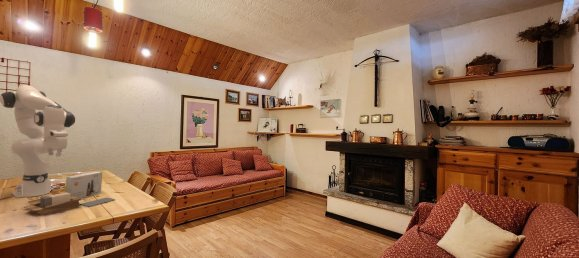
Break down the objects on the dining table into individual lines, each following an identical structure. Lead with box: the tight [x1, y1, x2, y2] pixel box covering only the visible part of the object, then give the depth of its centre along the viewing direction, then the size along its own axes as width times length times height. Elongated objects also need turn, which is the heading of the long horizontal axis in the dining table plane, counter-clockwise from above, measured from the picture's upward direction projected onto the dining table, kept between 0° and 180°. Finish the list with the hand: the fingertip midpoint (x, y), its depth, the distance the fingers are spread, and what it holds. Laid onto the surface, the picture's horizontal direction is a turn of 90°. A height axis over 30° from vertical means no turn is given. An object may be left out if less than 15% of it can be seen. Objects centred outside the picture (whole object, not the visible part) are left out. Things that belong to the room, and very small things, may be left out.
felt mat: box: [79, 197, 116, 208], centre depth 160 cm, size 9×16×1 cm, turn 158°
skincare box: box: [65, 171, 103, 199], centre depth 170 cm, size 21×5×16 cm, turn 168°
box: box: [39, 191, 70, 208], centre depth 147 cm, size 5×12×8 cm, turn 158°
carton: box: [23, 196, 85, 216], centre depth 147 cm, size 19×23×5 cm
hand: (54, 155), depth 146 cm, fingers open, 8 cm apart
